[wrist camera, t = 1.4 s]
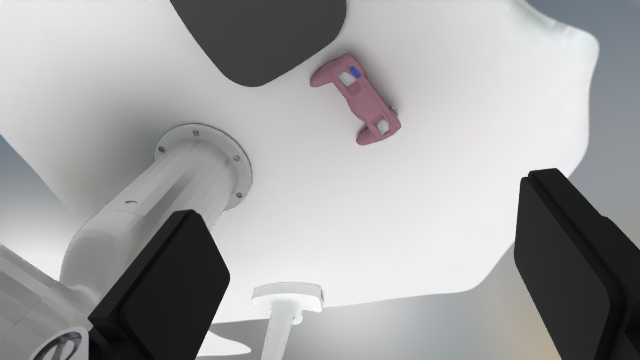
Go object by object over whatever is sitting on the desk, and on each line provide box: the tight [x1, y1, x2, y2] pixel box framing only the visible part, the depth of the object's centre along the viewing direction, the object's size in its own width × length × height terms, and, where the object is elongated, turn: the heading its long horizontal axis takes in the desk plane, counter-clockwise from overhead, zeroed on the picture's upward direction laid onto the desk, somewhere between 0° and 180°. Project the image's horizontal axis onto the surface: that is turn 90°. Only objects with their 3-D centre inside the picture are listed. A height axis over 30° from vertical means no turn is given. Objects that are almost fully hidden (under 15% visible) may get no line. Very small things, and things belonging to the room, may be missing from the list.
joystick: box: [251, 282, 323, 360], centre depth 47 cm, size 11×8×20 cm
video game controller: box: [310, 54, 401, 145], centre depth 35 cm, size 10×5×7 cm, turn 40°
